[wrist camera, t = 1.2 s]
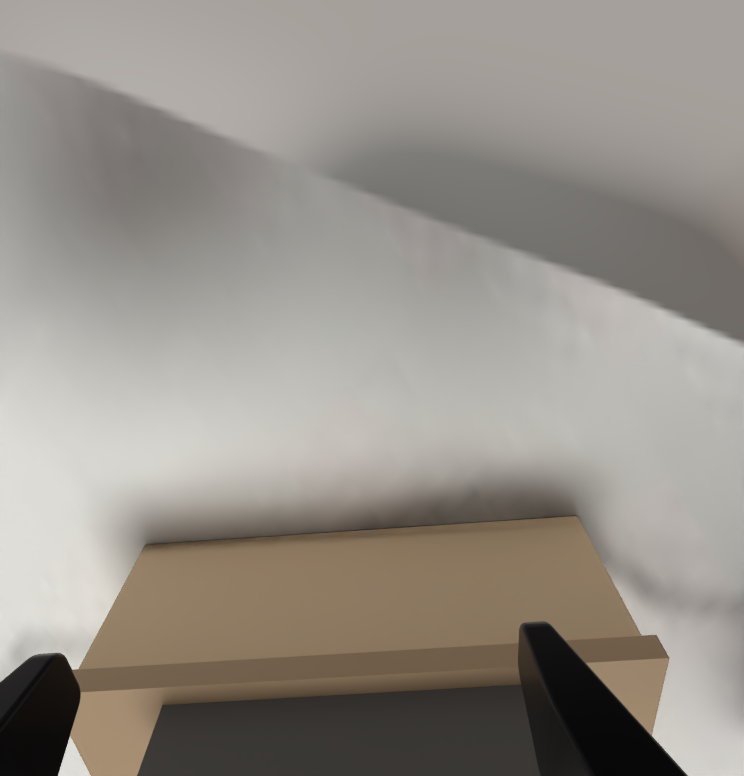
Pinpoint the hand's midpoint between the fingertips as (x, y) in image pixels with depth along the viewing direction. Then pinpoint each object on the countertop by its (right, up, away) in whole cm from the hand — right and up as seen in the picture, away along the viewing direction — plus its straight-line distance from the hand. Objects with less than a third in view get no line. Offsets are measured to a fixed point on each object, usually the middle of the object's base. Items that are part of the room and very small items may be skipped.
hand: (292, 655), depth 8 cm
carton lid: (+1, -12, +12) cm, 17 cm away
